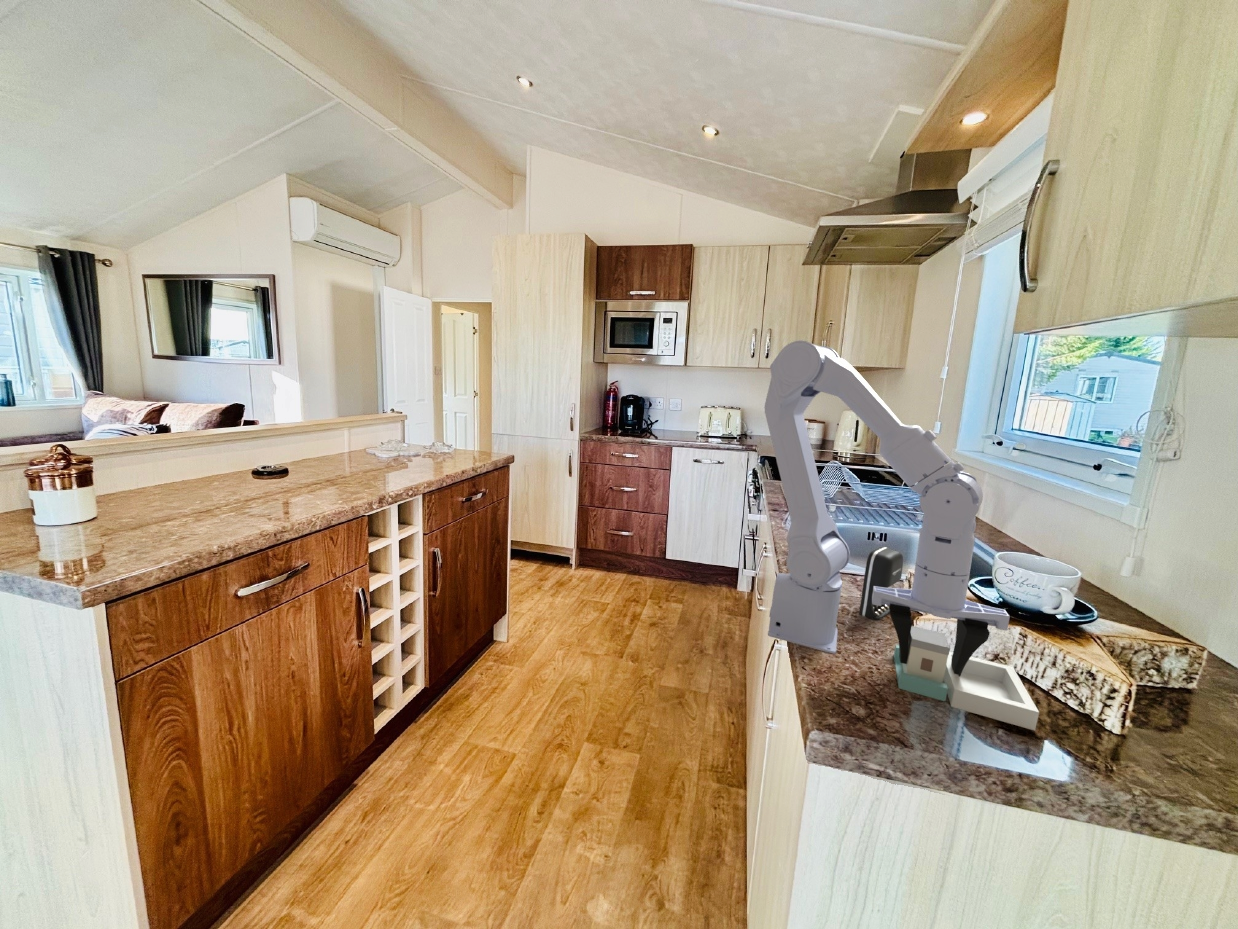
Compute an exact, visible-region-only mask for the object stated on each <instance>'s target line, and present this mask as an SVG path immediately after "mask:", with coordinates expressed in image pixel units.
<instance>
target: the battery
mask: <svg viewBox="0 0 1238 929" xmlns="http://www.w3.org/2000/svg"><path fill="white" fill-rule="evenodd" d="M865 564H866V565H865V569H864V570H865V571H864V576H863V582H862V584H863V585H862V590H861V599H860V604H859V605H860V606H859V611H858V614H859V615H860V616H862V617H865V618H867V619H870V620H875V621H879V620H881V619H883V618H885V617H886V616H888V615H890V611H889V606H888V605H883V604H882V605H881V606H878V605H873V604H872V594H873V586H877V587H884V588H891V587H892V586H893V585H895V584H896V583H898V582H900V581H901V579H902V576H903V568H904V557H903V554H902V553H901V552H899V551H898V550H895V549H890V548H888V547H886V546H880V547H878V548H875V549H873V550H872V551H870V553H869V554H868V556H867V559H866V563H865Z"/></svg>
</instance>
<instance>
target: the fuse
mask: <svg viewBox="0 0 1238 929" xmlns="http://www.w3.org/2000/svg"><path fill="white" fill-rule="evenodd" d="M950 650H951V647H950V644H949V641H948V639H947V636H946V634H945V633H944V632H940V631H936V630H932V629H927V628H923V627H919V626H914V625H912V627H911V631H910V636H909V642H908V659H907V664H904V663H902V667H903V673H907V674H910V675H914V676H918V677H921V678H925V679H929V680H932V681H936V682H940V683H943V684H944V682H943V679H944V674H945V668H946V663H947V658H948V655H949V651H950ZM950 652H951V651H950Z"/></svg>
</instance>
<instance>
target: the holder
mask: <svg viewBox="0 0 1238 929" xmlns="http://www.w3.org/2000/svg"><path fill="white" fill-rule="evenodd" d="M893 661H894V665H895V666H894V667H895V673H896V680H897V686H898V687H897V688H898V689H901V690H904V691H906V692H910V693H914V694H917V695H921V696H925V697H927V698H931V699H935V700H939V701H942V702H946V701H947V697H948V694H947V690H948V688H947V685H946V684H944V682H943V683H940V682H936V681H932V680H929V679H925V678H921V677H918V676H914V675H910V674H907V673H903V667H902V663H901V662H900V658H899V644H895V647H894V652H893Z"/></svg>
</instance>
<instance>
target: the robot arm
mask: <svg viewBox="0 0 1238 929" xmlns="http://www.w3.org/2000/svg"><path fill="white" fill-rule="evenodd" d="M769 369H770V376H771V377H770V381H769V385H768V390H767V394H766V398H765V402H764V415H765V419H766V422H767V427H768V431H769V435H770V439H771V444H772V447H773V452H774V456H775V459H776V465H777V468H778V472H779V476H780V480H781V485H782V488H783V493H784V497H785V502H786V504H787V509H788V513H789V517H790V525H789V528H788V529H789V530H788V532H787V537H786V542H787V545H788V546H787V548H788V551H787V552H788V553H787V557H786V562H785V563H786V568H787V571H788V573H782V572H778V573H777V574H776V578H775V581H774V586H773V587H774V588H773V593H772V599H771V605H770V606H771V607H770V610H769V626H768V631H767V636H768V637H770V638H774V639H778V640H781V641H785V642H789V643H793V644H797V645H799V646H802V647H807V648H811V649H815V650H819V651H821V652H825V653H828V654H833V655H834V654H836V653H837V647H838V631H839V630H838V627H837V621H838V615H839V608H840V601H841V594H842V589H843V588H842V587H843V581H842V578H841V574H840V573H841V572H840V571H842V570H843V569H845V568H846V566H847V565H848V564H849V562H850V559H851V552H850V548H849V545H848V544H847V542H846V541H845V539H844V538H843V537H842V535H841V534H840V533H839V530H838V526H837V524H836V522H835V520H834V519H833V518H832V517H831V516H830V515H829V513H828V509H827V506H826V501H825V496H824V492H823V489H822V485H821V482H820V477H819V473H818V469H817V464H816V461H815V457H814V453H813V449H812V445H811V441H810V437H809V432H808V428H807V424H806V420H805V417H804V413H805V411H806V410H807V408H808V407H809V405H811V403H812V401H813V400H814V399H815V397H816V396H817V395H818V394H820V393H825V394H829V395H831V396H834V397H838V398H839V399H840V400H841V401H842V402H843V403H844V404H845V405H846V406H847V407H848V408H849V410H851V411H852V412H853V413H854V414H855V415H856V416H857V417H858V418H859V419H860V420H861V421H862V422H863V423H864V425H866V426H867V427H868V428H869V429H870V430H871V431H872V432H873V433H874V435H876V436H877V437H878V438H879V443H880V444H879V454H880V456H881V457H882V458H883V460H885V461H886V463H887V464H888V465H889V466H890V467H891V468H892V469H893V471H895V473H896V474H897V475H898V476H899V477H900V478H901V480H903V482H904V483H905V484H906V485H907V487H908V488H909V489H910V490H911V491H912V492H913V493H914V492H915V493H916V494H918V495H919V497H918V498H919V499H918V502H919V506H920V509H921V511H922V513H923V517H922V518H923V519H922V527H921V528H920V529H919V538H918V543H917V552H916V560H915V564H914V574H913V581H912V588H911V589H908V588H894V587H893V588H892V587H888V588H884V587H877V586H873V594H872V604H873V605H878V606H881V605H882V604H883V605H888V606H889V611H890V613H889V615H890V618H891V621H892V623H893V624H892V625H893V627H894V630H895V634H896V636H897V640H898V645H899V658H900V662H901V663H904V664H907V659H908V642H909V636H910V631H911V627H912V626H913V619H912V611H915V612H920V613H926V614H930V615H932V616H933V617H937V618H941V619H947V620H951V619H954V620H955V619H956V631H955V641H954V642H955V643H954V648H953V651H952V652H953V655H952V661H951V666H952V669H953V671H954V674H958V675H959V677H960V676H961V673H962V671H963V669H964V667H965V665H966V663H967V662H968V660H969V659H970V657H973V654H975V652H977V650H978V649H979V648H980V647H981V646H982V645H984V644H985V643H986V642H988V639H989V638H990V633H991V632H990V630H989V628H988V627H989V626H992V627H995V628H996V629H997V630H1001V631H1006V632H1007V631H1008V629H1009V624H1010V618H1011V617H1010V614H1009V613H1008V612H1007V611H1006V609H1003V608H998V607H993V606H990V605H985V604H981V603H979V602H975V601H971V600H968V599H966V598H967V593H968V585H969V580H970V572H971V567H972V559H973V556H974V555H973V553H974V546H975V540H976V537H975V535H974V533H975V531H976V530H977V529H976V528H977V523H976V518H977V517H976V516H977V514H978V512H979V510H980V507H981V505H982V502H983V499H984V494H983V490H982V487H981V486H980V484H979V483H978V481H977V479H976V477H975V476H973V475H972V474H970V473H968V472H965V471H963V470H965V466H964V465H963V464H962V463H961V461H960V462H957V463H955V462H954V461H953V459H951V458H950V457H949V455H947V454H946V453H945V451H944V450H943V449H942V448H941V447H940V446H939V445H938V444H937V443H936V442H935V441H934V440H936V439H937V438H938V436H937V435H936V433H934V432H933V431H932V430H930V429H929V430H926V431H925V430H924V429H923V428H922V427H921V426H920V425H916V424H915V425H914V424H913V425H911V424H904V423H902V422H901V420H900V418H898V416H896V414H895V413H894V412H893V411H892V409H891V408H890V407H889V406H888V405H887V404H886V403H885V402H884V401H883V399H881V397H880V396H879V395H878V394H877V392H875V390H874V389H873V388H872V387H871V385H870V384H869V383H868V381H866V380H865V378H864V377H863V376H862V375H861V374H860V373H859V372H858V371H857V369H856V368H854V367H853V365H852V364H850V363H849V362H848V361H847V360H846V359H844V358H842V357H840V356H839V354H838V353H837V352H836V351H835V350H834V349H833V348H831V347H829V346H825V345H817V344H814V343H812V342H809V341H806V340H794V341H792V342H790V343H788V344H787V345H785V346H783V347H782V349H781V350H780V351H779V353H777V356H776V357H775V358H774V359H773V361H772V363H771V364H770V365H769Z"/></svg>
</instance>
